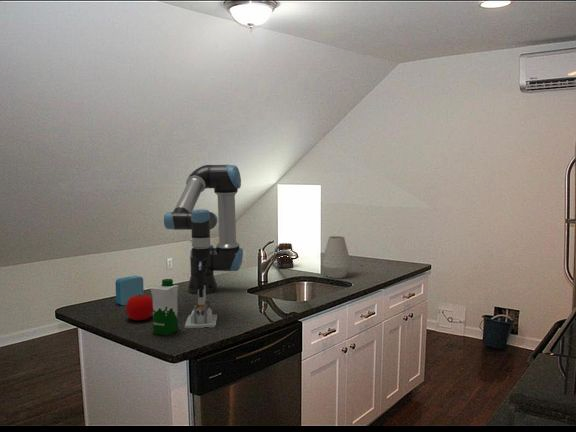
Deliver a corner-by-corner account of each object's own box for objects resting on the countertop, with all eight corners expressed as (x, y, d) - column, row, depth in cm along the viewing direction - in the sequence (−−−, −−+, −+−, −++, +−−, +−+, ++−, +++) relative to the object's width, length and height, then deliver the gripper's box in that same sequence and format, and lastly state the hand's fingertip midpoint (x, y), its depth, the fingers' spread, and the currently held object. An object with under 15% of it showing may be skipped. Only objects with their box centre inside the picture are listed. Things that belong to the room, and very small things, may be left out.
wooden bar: (199, 306, 206) (199, 301, 206) (205, 306, 207) (205, 301, 207) (196, 313, 196) (196, 308, 196) (203, 313, 196) (203, 308, 196)
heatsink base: (188, 317, 208) (188, 299, 207) (217, 316, 209) (216, 298, 208) (184, 328, 194) (184, 308, 193) (215, 327, 195) (215, 307, 194)
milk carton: (181, 329, 192) (180, 279, 190) (168, 337, 183) (166, 284, 182) (162, 327, 195) (161, 277, 193) (148, 334, 187) (147, 282, 185)
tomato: (127, 324, 198) (127, 299, 197) (125, 316, 209) (124, 292, 208) (156, 321, 202) (155, 296, 201) (152, 313, 214) (151, 289, 213)
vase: (343, 272, 297) (343, 234, 294) (356, 278, 280) (356, 238, 278) (316, 274, 291) (316, 235, 289) (328, 280, 275) (328, 240, 273)
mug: (283, 265, 319) (283, 242, 318) (296, 266, 313) (296, 243, 312) (268, 269, 307) (268, 245, 305) (282, 271, 301) (282, 246, 299)
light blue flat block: (138, 299, 237) (138, 274, 235) (144, 300, 234) (143, 276, 232) (115, 304, 228) (115, 279, 226) (121, 306, 225) (120, 280, 223)
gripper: (193, 243, 210) (194, 297, 212) (189, 251, 192) (190, 309, 194) (211, 243, 211) (212, 296, 213) (208, 250, 193) (209, 308, 195)
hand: (201, 302), depth 204 cm, fingers open, 5 cm apart
